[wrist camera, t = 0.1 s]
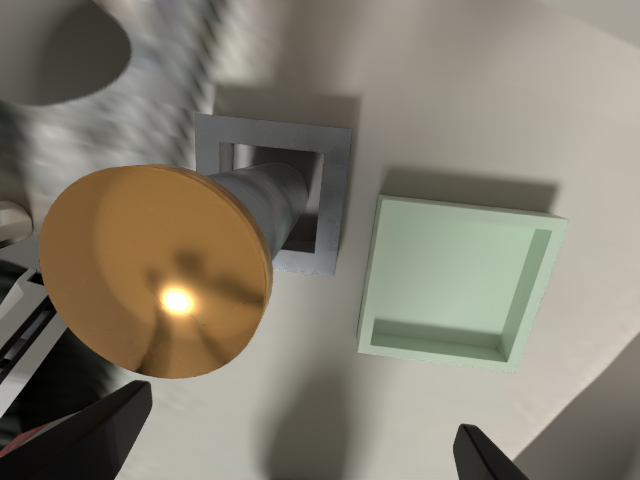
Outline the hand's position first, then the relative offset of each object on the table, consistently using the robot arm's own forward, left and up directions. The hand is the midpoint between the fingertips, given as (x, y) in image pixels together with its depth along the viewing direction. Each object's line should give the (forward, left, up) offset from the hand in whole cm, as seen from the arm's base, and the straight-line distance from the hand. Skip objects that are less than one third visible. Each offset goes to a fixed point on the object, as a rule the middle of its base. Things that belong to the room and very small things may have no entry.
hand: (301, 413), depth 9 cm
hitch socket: (+4, +4, -15) cm, 16 cm away
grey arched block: (-13, +26, -15) cm, 33 cm away
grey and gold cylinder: (+4, +4, -15) cm, 16 cm away
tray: (-1, -9, -15) cm, 17 cm away
